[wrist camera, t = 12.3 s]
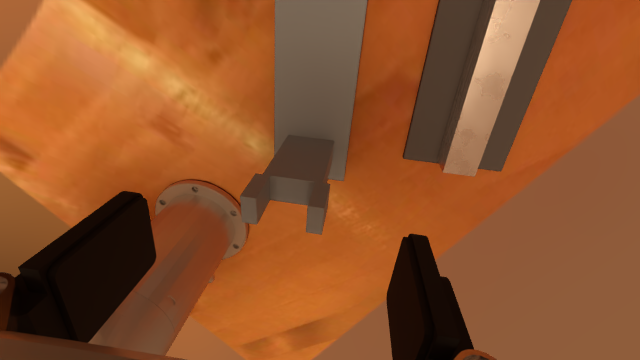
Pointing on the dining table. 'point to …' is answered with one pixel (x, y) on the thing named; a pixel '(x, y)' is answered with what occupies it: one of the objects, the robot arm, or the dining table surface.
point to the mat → (447, 67)
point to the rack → (310, 105)
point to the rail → (484, 82)
